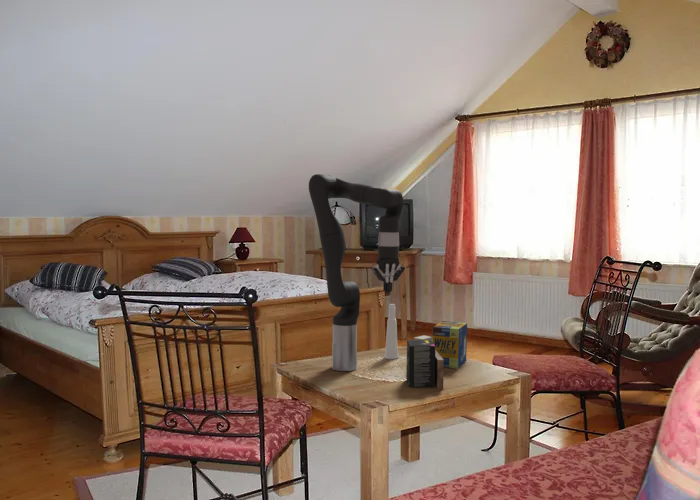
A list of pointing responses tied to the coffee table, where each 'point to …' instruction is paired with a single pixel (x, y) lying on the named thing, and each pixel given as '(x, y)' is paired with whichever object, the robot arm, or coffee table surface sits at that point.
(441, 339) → the protein box
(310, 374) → the coffee table surface
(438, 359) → the walnut board
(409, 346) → the tampon box
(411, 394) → the coffee table surface
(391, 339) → the cosmetic bottle
